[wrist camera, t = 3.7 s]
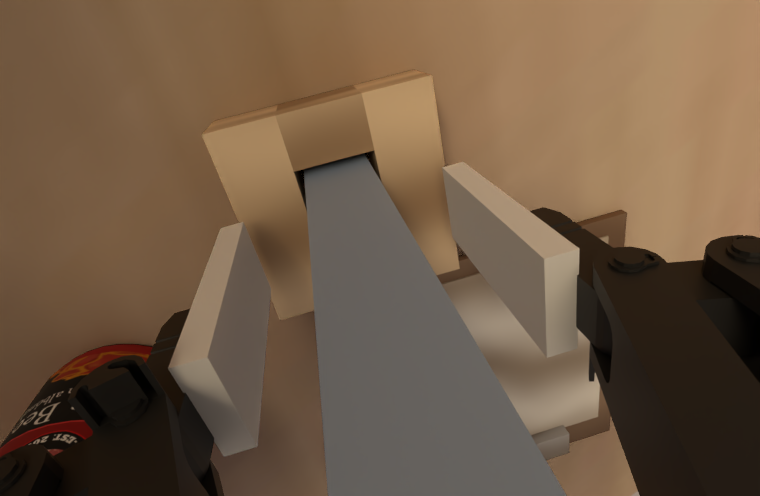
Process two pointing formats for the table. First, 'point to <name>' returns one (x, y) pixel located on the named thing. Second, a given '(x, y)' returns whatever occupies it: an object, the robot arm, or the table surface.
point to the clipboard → (536, 356)
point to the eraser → (402, 360)
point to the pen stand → (326, 144)
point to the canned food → (63, 403)
